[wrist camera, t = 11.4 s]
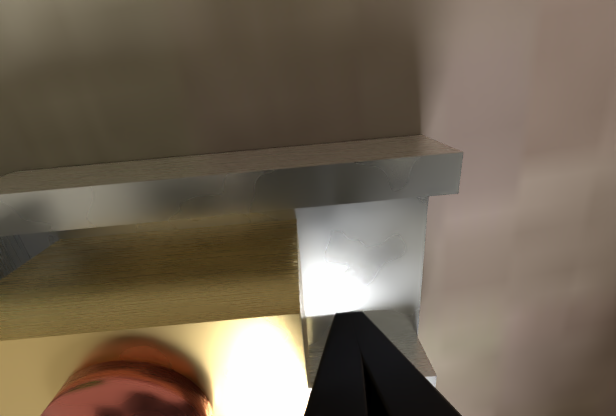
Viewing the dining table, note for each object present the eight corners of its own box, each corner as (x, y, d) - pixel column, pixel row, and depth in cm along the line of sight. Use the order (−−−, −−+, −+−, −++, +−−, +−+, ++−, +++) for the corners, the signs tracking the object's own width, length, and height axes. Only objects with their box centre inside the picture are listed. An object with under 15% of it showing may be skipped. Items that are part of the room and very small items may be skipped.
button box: (296, 219, 9) (301, 339, 5) (307, 331, 11) (317, 492, 7) (58, 239, 9) (-150, 382, 5) (107, 350, 11) (-14, 527, 6)
